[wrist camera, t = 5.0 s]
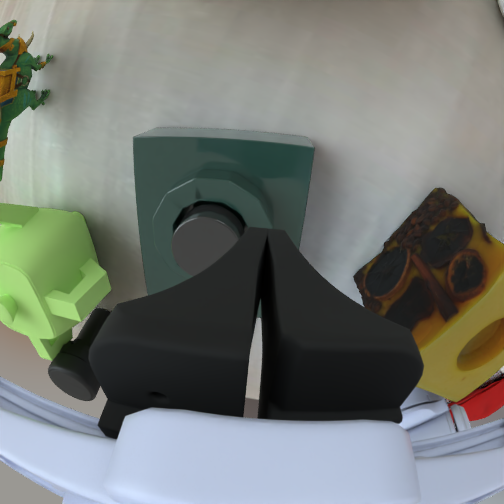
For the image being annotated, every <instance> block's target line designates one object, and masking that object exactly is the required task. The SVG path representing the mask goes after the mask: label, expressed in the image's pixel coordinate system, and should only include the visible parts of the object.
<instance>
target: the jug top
mask: <svg viewBox="0 0 504 504" xmlns="http://www.w3.org/2000/svg"><path fill="white" fill-rule="evenodd" d="M243 234H244V228H243V226H242V223H241V222H240V220H239V219H238V217H237V216H236V215H235V214H234V213H232V212H231V211H230V210H228V209H226V208H224V207H222V206H218V205H213V204H206V205H200V206H197V207H195V208H193V209H191V210H190V211H189V212H188V213H187V214H186V215H185V216H184V217H183V219H182V220H181V222H180V224H179V225H178V227H177V228H176V230H175V232H174V234H173V236H172V240H171V249H172V254H173V256H174V259H175V261H176V262H177V264H178V265H179V266H180V267H181V268H182V269H183V270H184V271H185V272H187V273H188V274H190V275H192V276H195V275H197V274H199V273H200V272H202V271H203V270H205V269H206V268H208V267H209V266H211V265H212V264H213V263H214V262H216V261H217V260H218V259H219V258H220V257H222V256H223V255H224V254H225V253H226V252H227V251H228V250H229V249H230V248H231V247H232V246H233V245H234V244H235V243H236V242H237V241H238V240H239V239H240V238H241V236H242V235H243Z"/></svg>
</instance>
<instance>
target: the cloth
mask: <svg viewBox="0 0 504 504" xmlns="http://www.w3.org/2000/svg"><path fill="white" fill-rule="evenodd" d="M454 404H457V405H458V406H462V407H463V408H464V410H465V412H466V414H467V417H468V419H469V421H474V420H478V419H482V418H485V417H487V416H489V415H491V414H492V413H494V412H495V411H497V410H498V409H499V408H501V407H502V406H503V405H504V378H503V379H501V380H500V381H497V382H494V383H492V384H490V385H489V386H487V387H486V388H482V389H477V390H475V391H473V392H471V393H470V394H468V395H467V396H466V397H464V398H462V399H461V400H459V401H458V402H454V401H453V402H451V403H449V404H448V407H449V408H450V406H452V405H454ZM449 411H450V414H451V417H452V420H453V414H452V411H451V410H449ZM453 423H454V420H453Z"/></svg>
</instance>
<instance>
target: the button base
mask: <svg viewBox="0 0 504 504" xmlns="http://www.w3.org/2000/svg"><path fill="white" fill-rule="evenodd" d="M314 150H315V147H314V146H313V145H312V143H311V142H310V140H309V139H308V138H307V137H304V136H296V135H288V134H279V133H269V132H258V131H246V130H231V129H212V128H154V129H152V130H149V131H147V132H144V133H142V134H139V135H137V136H134V137H133V154H134V175H135V190H136V203H137V215H138V225H139V234H140V243H141V251H142V259H143V266H144V273H145V280H146V286H147V293H148V296H149V295H152V294H155V293H158V292H160V291H163V290H166V289H168V288H171V287H173V286H175V285H177V284H180V283H181V282H183V281H185V280H187V279H189V278H191V277H193V276H192V275H190V274H188V273H187V272H185V271H184V270H183V269H182V268H181V267H180V266H179V265H178V264H177V262H176V261H175V259H174V256H173V254H172V249H171V240H172V236H173V234H174V232H175V230H176V228H177V227H178V225H179V224H180V222H181V220H182V219H183V217H184V216H185V215H186V214H187V213H188V212H189V211H190V210H191V209H193V208H195V207H197V206H200V205H206V204H213V205H218V206H222V207H224V208H226V209H228V210H230V211H231V212H232V213H234V214H235V215H236V216H237V217H238V219H239V220H240V222H241V223H242V226H243V228H244V233H245V231H246V230H247V229H248V228H249V227H257V228H268V229H279V230H285V231H286V233H287V234H288V236H289V237H290V239H291V240H292V242H293V243H294V244H295V246H296V247H297V249H298V250H299V246H300V241H301V235H302V229H303V223H304V217H305V211H306V204H307V198H308V192H309V185H310V178H311V172H312V165H313V158H314ZM257 318H261V299H260V304H259V309H258V314H257Z"/></svg>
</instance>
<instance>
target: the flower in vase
mask: <svg viewBox="0 0 504 504" xmlns="http://www.w3.org/2000/svg"><path fill="white" fill-rule="evenodd" d="M497 1H498V4H499V7H500V10H501V12H502V15H503V17H504V0H497Z"/></svg>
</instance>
